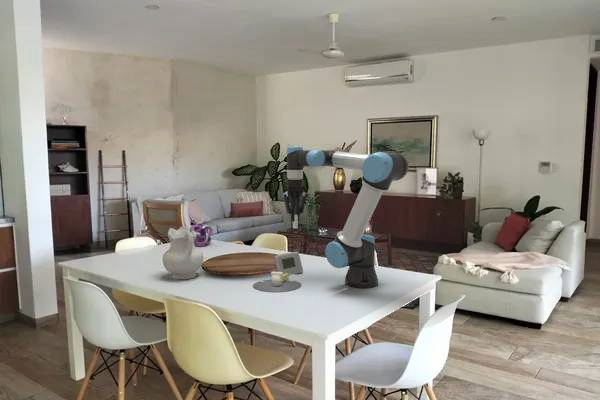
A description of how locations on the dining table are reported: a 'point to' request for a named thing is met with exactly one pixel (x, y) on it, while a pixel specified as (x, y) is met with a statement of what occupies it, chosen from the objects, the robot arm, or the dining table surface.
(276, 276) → the peg
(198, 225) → the sculpture
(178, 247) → the ceramic pitcher
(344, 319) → the dining table surface
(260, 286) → the grey flat disc
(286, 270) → the digital clock
